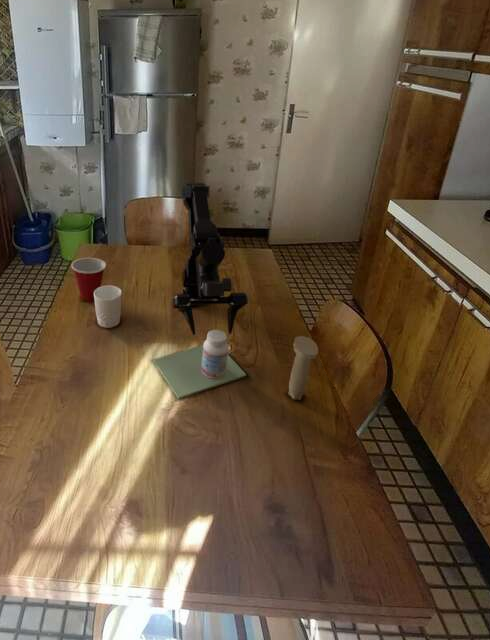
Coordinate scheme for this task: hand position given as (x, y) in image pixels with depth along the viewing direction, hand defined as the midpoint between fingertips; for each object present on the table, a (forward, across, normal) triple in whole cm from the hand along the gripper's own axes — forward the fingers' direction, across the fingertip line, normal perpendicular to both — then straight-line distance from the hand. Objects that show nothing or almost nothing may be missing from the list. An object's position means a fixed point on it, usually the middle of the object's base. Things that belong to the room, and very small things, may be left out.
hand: (212, 334), depth 110 cm
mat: (+8, -3, +4) cm, 10 cm away
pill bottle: (+9, 0, +2) cm, 9 cm away
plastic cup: (-16, -33, +29) cm, 47 cm away
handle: (+15, +18, -3) cm, 24 cm away
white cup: (-7, -27, +19) cm, 34 cm away
